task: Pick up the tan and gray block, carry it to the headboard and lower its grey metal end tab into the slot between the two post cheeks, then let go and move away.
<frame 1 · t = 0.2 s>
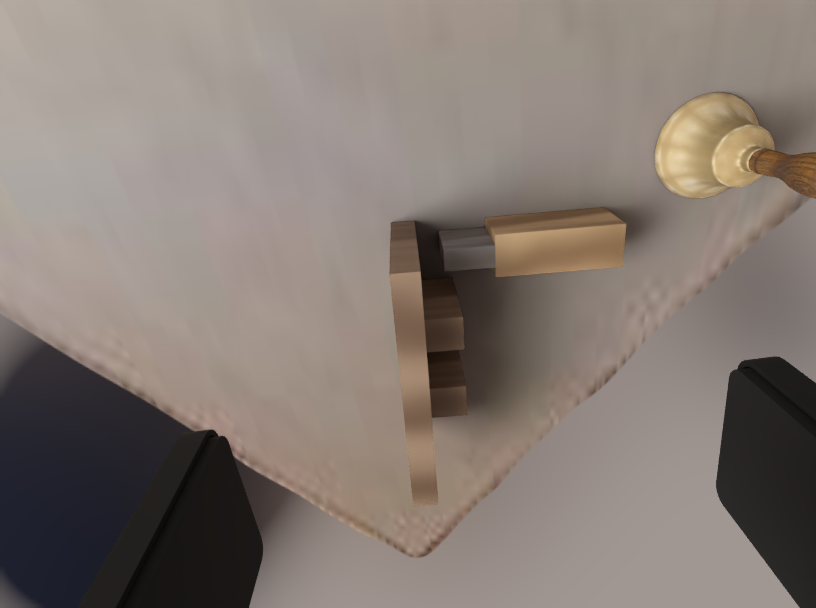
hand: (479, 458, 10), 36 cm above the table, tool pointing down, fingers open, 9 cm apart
tan and gray block: (543, 232, 46), on the table
headboard: (438, 324, 49), on the table
hand bell: (704, 146, 43), on the table
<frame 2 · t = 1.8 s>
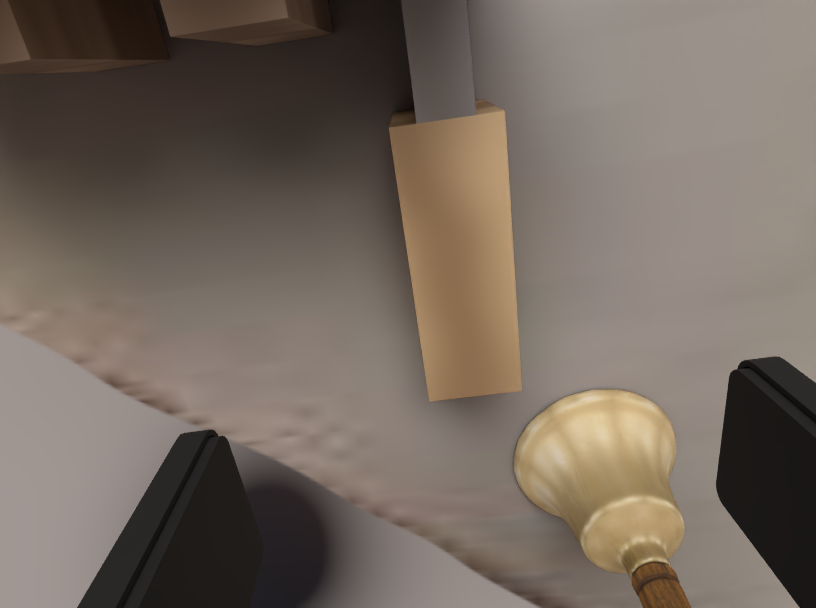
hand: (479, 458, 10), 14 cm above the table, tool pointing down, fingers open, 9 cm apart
tan and gray block: (451, 230, 23), on the table
headboard: (201, 7, 19), on the table
hand bell: (592, 452, 28), on the table
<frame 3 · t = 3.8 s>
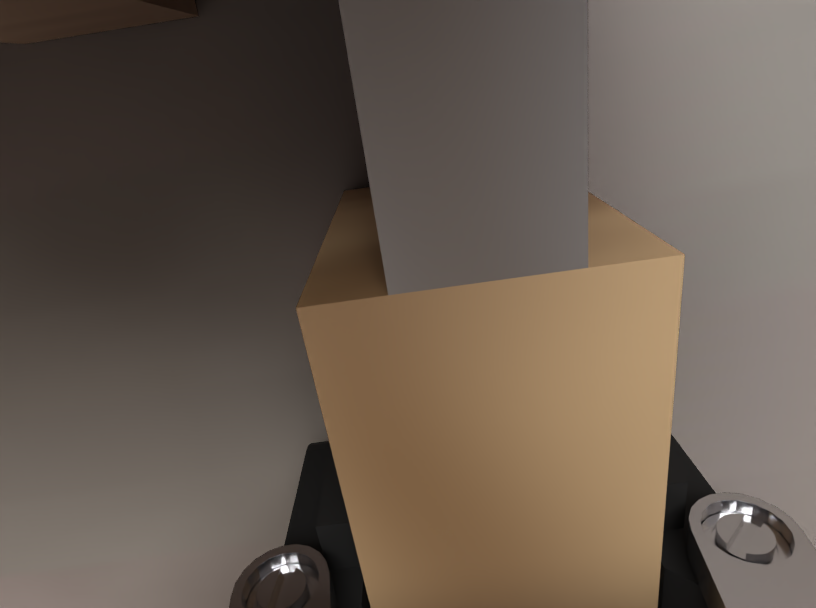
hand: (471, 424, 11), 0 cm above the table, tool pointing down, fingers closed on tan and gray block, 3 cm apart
tan and gray block: (468, 410, 11), on the table, touching gripper
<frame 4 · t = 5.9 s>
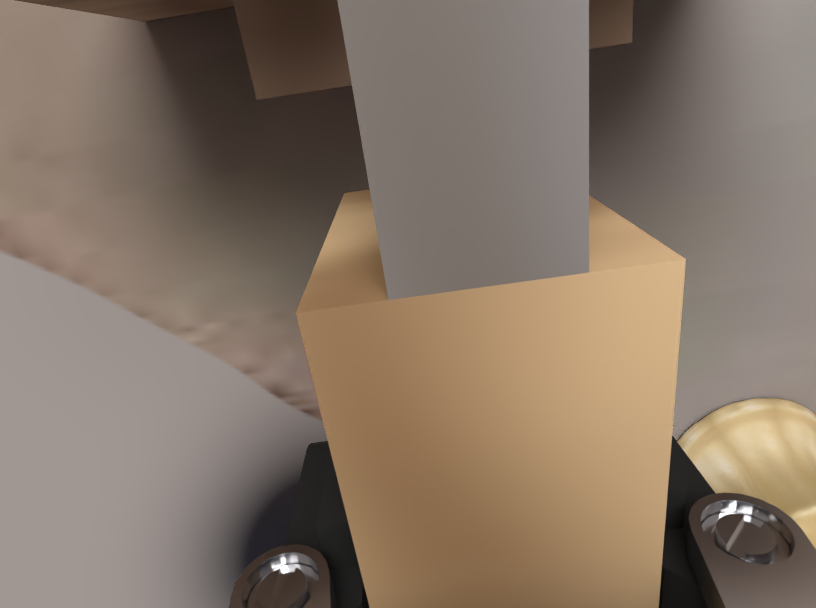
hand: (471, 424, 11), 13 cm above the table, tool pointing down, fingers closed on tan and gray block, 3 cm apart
tan and gray block: (469, 412, 11), point 12 cm above the table, touching gripper
headboard: (422, 24, 19), on the table
hand bell: (740, 460, 28), on the table
when the fingers open (2 cm above the table, at t = 8.0 s): tan and gray block drops 1 cm, on the table.
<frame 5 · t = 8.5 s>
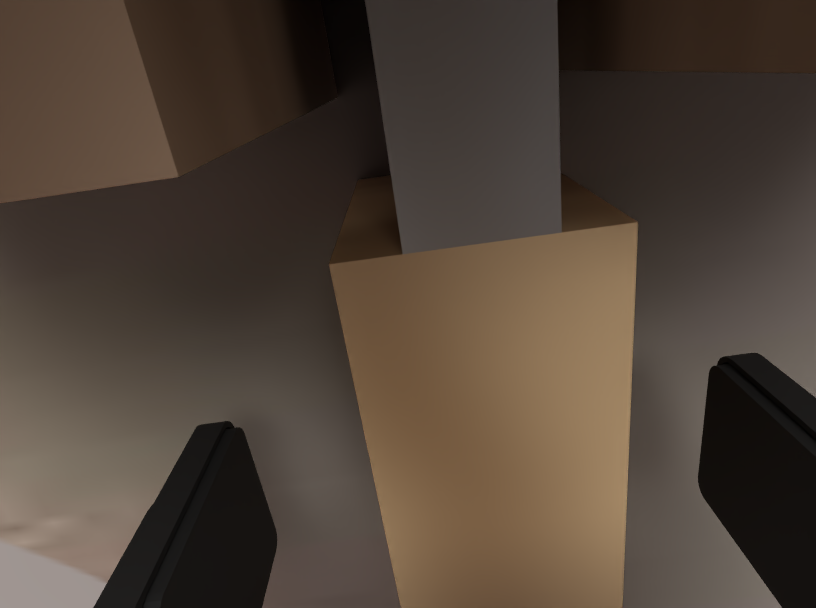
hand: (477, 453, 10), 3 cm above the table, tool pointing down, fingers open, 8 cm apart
tan and gray block: (467, 380, 13), on the table
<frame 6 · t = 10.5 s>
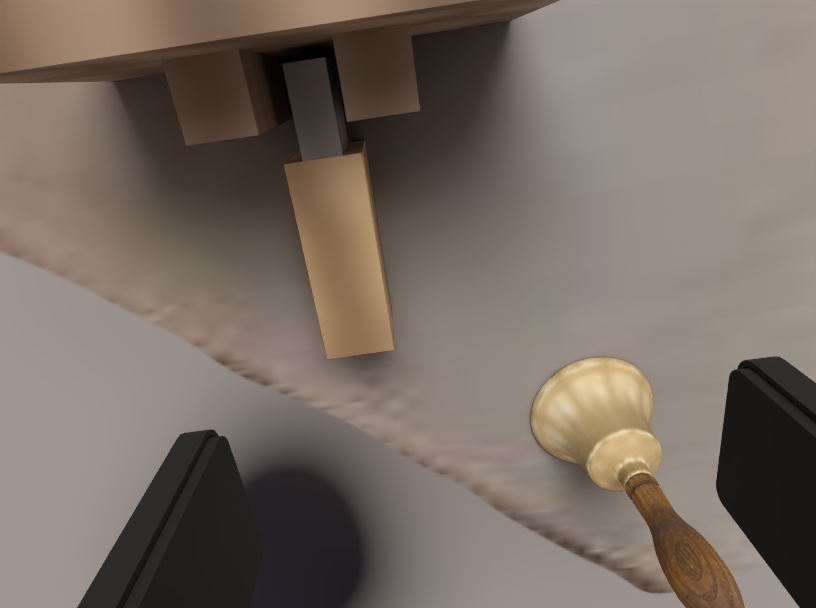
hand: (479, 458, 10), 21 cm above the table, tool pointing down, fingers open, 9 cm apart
tan and gray block: (348, 235, 30), on the table
headboard: (317, 83, 27), on the table
hand bell: (589, 408, 36), on the table
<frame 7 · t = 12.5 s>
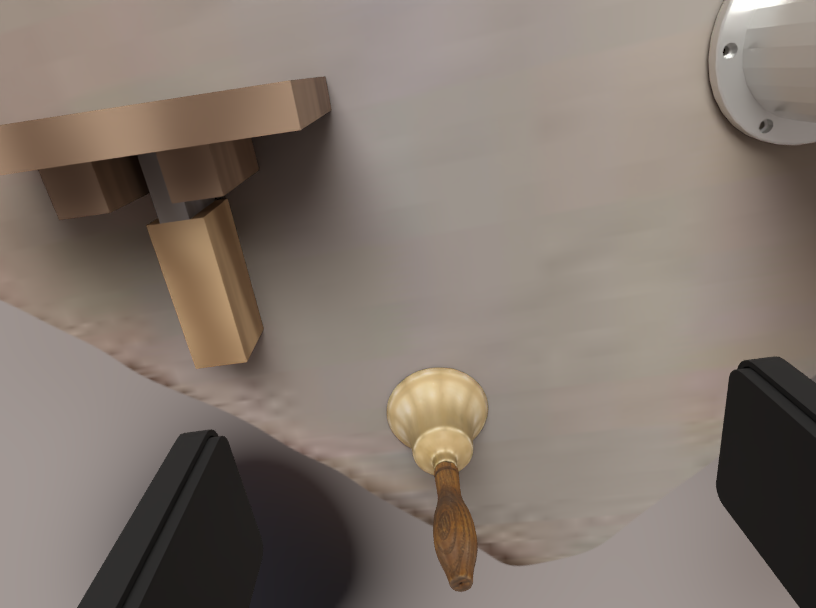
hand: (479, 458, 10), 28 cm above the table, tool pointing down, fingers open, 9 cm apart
tan and gray block: (222, 270, 38), on the table
headboard: (186, 156, 35), on the table
hand bell: (437, 408, 44), on the table
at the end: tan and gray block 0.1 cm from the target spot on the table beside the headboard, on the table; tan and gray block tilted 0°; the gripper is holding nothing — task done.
